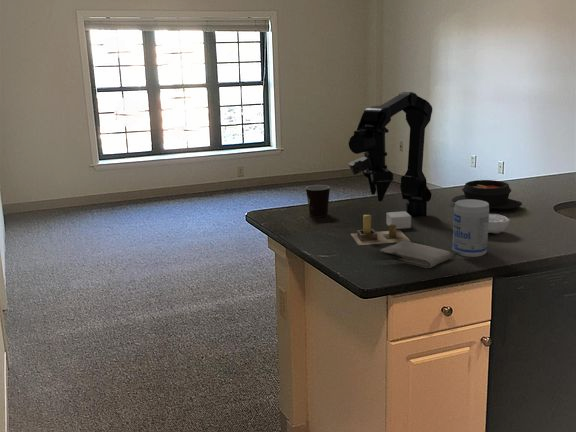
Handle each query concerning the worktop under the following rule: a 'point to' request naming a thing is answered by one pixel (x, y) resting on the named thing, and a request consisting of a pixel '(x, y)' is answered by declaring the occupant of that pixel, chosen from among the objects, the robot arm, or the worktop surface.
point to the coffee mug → (318, 199)
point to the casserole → (489, 194)
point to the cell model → (497, 223)
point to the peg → (366, 224)
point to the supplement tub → (470, 227)
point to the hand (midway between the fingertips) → (376, 197)
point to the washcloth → (417, 254)
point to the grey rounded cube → (399, 219)
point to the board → (379, 236)
